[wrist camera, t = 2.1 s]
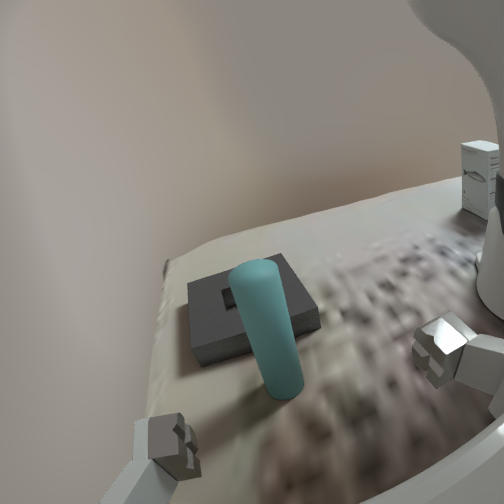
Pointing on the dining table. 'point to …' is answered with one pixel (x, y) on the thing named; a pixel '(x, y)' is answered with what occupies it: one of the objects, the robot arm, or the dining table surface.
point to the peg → (268, 326)
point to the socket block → (230, 323)
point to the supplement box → (479, 176)
